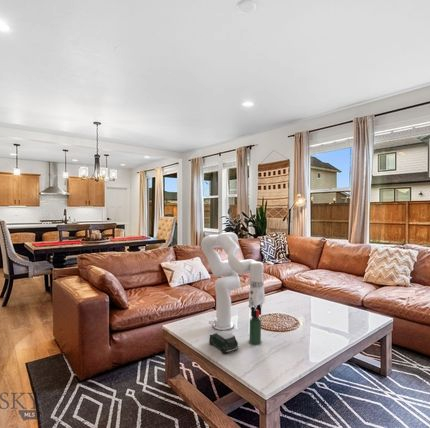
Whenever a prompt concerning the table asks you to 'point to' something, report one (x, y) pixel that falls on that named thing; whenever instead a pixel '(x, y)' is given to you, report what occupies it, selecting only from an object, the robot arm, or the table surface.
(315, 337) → the table surface
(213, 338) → the miniature car
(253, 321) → the bottle
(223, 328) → the robot arm
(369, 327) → the table surface
